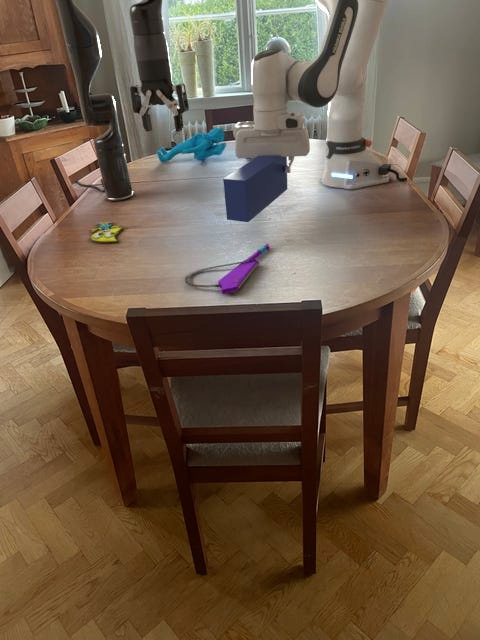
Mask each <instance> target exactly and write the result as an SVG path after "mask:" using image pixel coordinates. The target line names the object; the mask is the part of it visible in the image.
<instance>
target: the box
mask: <svg viewBox="0 0 480 640" xmlns="http://www.w3.org/2000/svg"><path fill="white" fill-rule="evenodd" d="M285 165H288V157H281V156H258V157H256V158H255V159H253V160H252V161H251V160H250V161H248V162H247V163H245V164H244V165H242V166H241V167H239V168H237V169H236V170H235V171H233V172H232V173H230V174H229V175H227V176H225V177H224V178H222V181H223V193H224V203H225V204H224V205H225V214H226V220H227V221H234V222H235V221H236V222H242V223H250V222H251V221H252V220H253V219H254V218H255V217H256V216H257V215H259V214H260V213H261V212H262V211H264V210H265V209H266V208H267V207H268V206H269V205H271V204H272V203H273V202H274V201H276V200H277V199H278V198H279V197H280V196H281V195H282V194H284V193H285V192H286V191H287V190H288V173H285Z"/></svg>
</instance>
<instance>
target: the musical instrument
mask: <svg viewBox="0 0 480 640" xmlns="http://www.w3.org/2000/svg"><path fill="white" fill-rule="evenodd" d="M269 250H270V244H269V243H266V244H265V245H263V246H261V247H260V248H259V249H257V250H256V252H254V253H253V254H251V255H250V256H248V258H246V259H244V260H243V261H237V262H231V263H225V264H221V265H216V266H210V267H205V268H201V269H199V270H197V271H194V272H192V273H190V274H189V275H186V276H185V278H184V282H185V284H187V285H189V286H191V287H195V288H214V287H215V288H220V291H221V294H222V295H225V294H231V293H235V292H238V291H239V289H240V287H242V285H243V284H244V282H245V281H246V280H247V278H248V277H250V275H251V274H252V272H253V271H254V270H255V269H256V267H257V266H258V265H259V264H260V261H259V260H258V259H257V258H258V257H260V256H261V255H263V254H264V253H265V252H266V251H269ZM234 265H237V266H235V267H234V268H233V269H231V270H230V271H228V273H226V275H224V276H223V277H221V278H220V279H219V280H218V281H217V284H195V283H191V282H190V281H189V278H190V277H192V276H194V275H195V274H198V273H200V272H203V271H206V270H211V269H216V268H221V267H222V268H223V267H226V266H227V267H228V266H234Z"/></svg>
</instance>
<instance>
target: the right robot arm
mask: <svg viewBox="0 0 480 640" xmlns="http://www.w3.org/2000/svg"><path fill="white" fill-rule="evenodd" d="M315 2H316V3H317V5H318V7H319V8H320V10H322V11H323V12H324V13H325V14H327V17H328V22H327V23H328V24H327V28H326V31H325V34H324V37H323V40H322V43H321V47H320V50H319V53H318V55H317V57H315V59H313V60H312V61H307V60H301V59H298V58H294V57H292V56H291V55H289V54H287V53H285V52H284V50H283V49H282V48H279V47H278V48H277V47H273V48H270V49H265V50H262V51H260V52H258V53H256V55H255V56H254V57H253V59H252V61H251V72H250V73H251V93H252V95H253V105H252V106H253V107H252V108H253V109H252V110H253V111H252V112H253V120H250V121H249V120H248V121H238V122H237V123H236V124H234V125H233V128H232V133H233V137H234V139H235V141H234V153H235V154H234V155H235V156H236V158H237V159H250V161H252V160H253V159H255V158H256V157H258V156H281V157H287V161H289V162H288V163H287V165H285V173H287V174H290V173H291V171H292V169H291V167H292V165H293V163H294V161H295V157H306V156H308V155H309V153H310V150H311V144H310V142H311V141H310V137H309V135H310V134H309V131H308V128H307V127H306V125H305V123H306V122H305V115H303V114H301V113H297V112H293V111H290V110H288V102H290V101H291V102H295V103H300V104H305V105H308V106H310V107H312V108H323V107H325V106H326V105H328V109H327V123H326V124H327V126H326V127H327V129H326V130H327V133H326V139H325V145H324V154H325V155H324V156H325V164H324V170H323V175H322V178H321V183H322V185H324V186H327V187H330V188H338V189H339V188H341V189H346V190H356V189H361V188H366V187H371V186H376V185H380V184H385V183H389V182H390V176H389V175H388V174H389V173H391V174H392V173H393V174H394V175H395V179H396V181H399V182H405V181H408V176H407V177H400V173H399V172H398V171H397V170H395V169H392V164H391V163H382V161H381V159H380V158H379V157H377V156H376V155H375V154H373V152H371V151H370V150H368V148H370V147H371V146H373V141H372V140H371V139H368V138H367V139H366V138H364V137H362V134H363V118H364V106H365V97H366V88H367V75H368V63H369V61H370V57H371V54H372V51H373V48H374V45H375V43H376V40H377V37H378V35H379V31H380V28H381V24H382V21H383V18H384V15H385V11H386V8H387V5H388V2H389V0H315Z"/></svg>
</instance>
